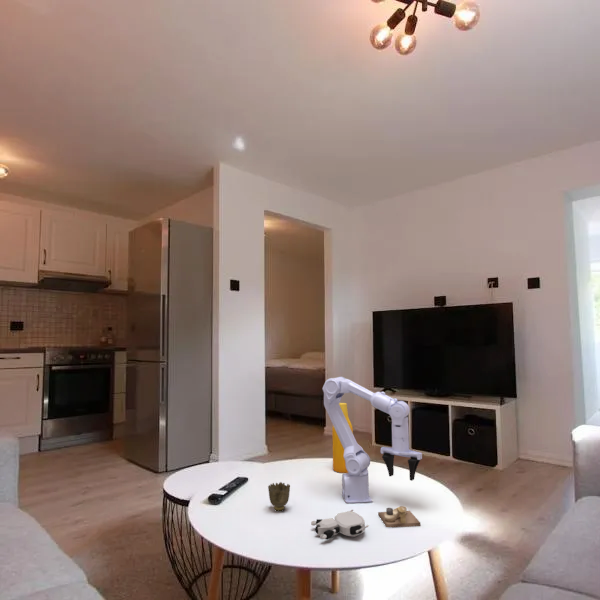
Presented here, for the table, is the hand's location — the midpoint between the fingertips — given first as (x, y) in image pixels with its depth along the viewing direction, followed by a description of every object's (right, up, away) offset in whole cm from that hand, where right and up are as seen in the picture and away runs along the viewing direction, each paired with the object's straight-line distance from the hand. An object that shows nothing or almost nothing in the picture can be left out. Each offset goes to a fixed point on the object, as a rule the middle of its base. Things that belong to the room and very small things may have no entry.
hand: (401, 477), depth 147 cm
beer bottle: (-16, -14, +41) cm, 46 cm away
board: (-4, -8, -12) cm, 15 cm away
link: (-5, -7, -12) cm, 15 cm away
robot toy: (-23, -8, -21) cm, 33 cm away
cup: (-42, -10, -3) cm, 43 cm away
